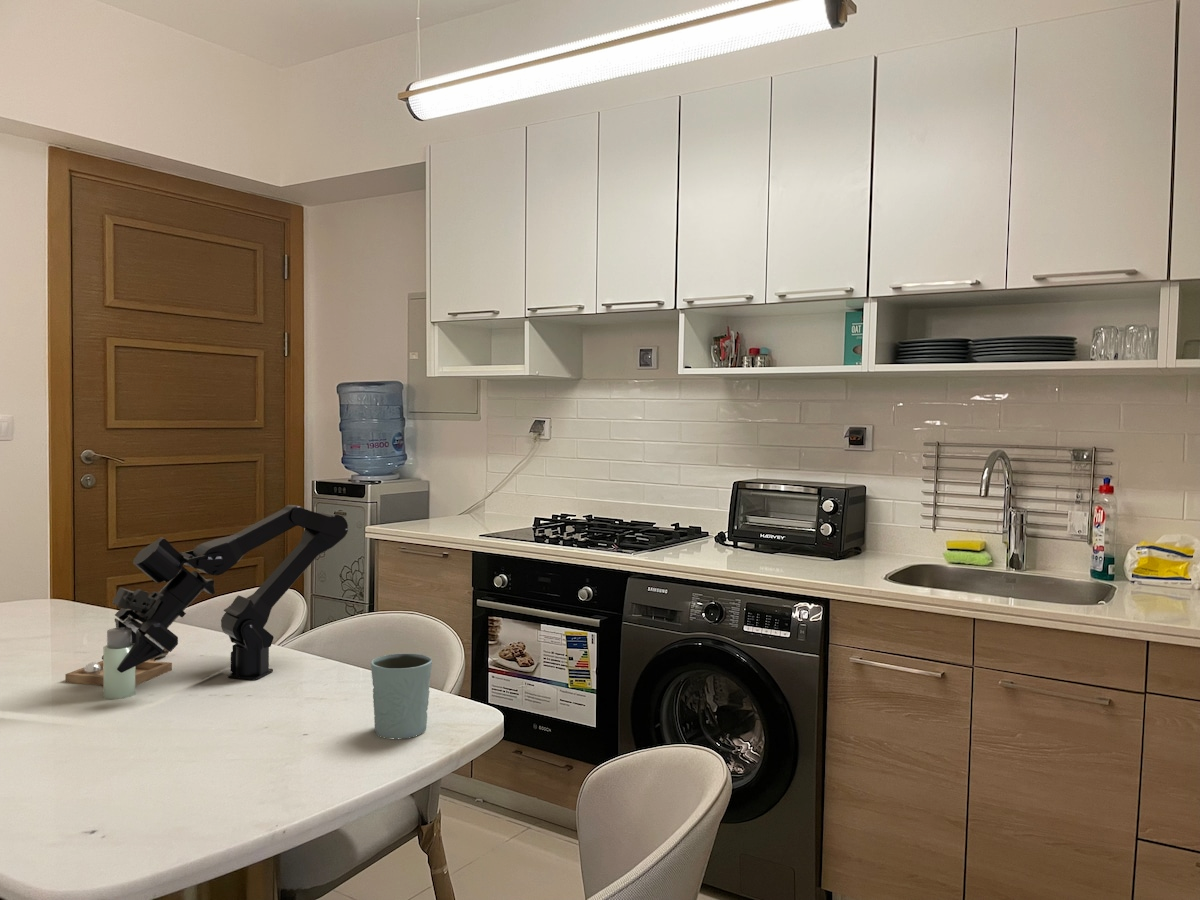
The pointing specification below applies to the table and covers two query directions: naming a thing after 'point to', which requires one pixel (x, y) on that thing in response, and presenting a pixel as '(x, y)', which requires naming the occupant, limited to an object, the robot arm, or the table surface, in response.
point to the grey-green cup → (401, 694)
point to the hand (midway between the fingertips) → (111, 665)
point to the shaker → (117, 664)
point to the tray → (142, 673)
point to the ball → (93, 669)
